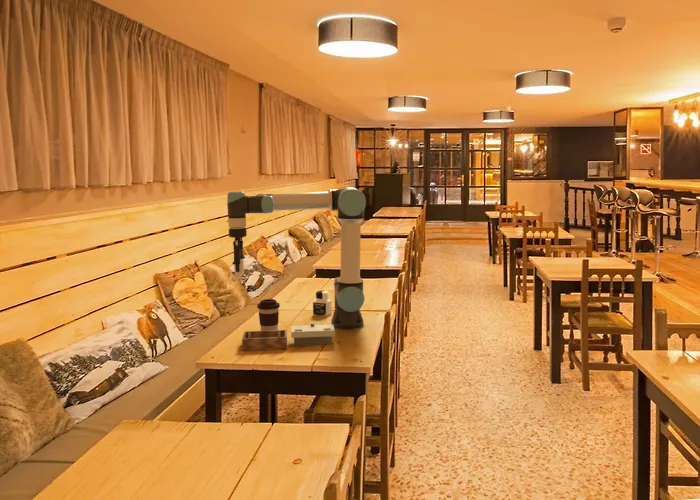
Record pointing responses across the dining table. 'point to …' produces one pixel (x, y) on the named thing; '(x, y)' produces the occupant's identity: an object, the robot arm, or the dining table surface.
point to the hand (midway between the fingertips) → (239, 276)
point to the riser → (313, 340)
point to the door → (312, 331)
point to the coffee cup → (268, 314)
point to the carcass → (264, 340)
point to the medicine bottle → (322, 304)
